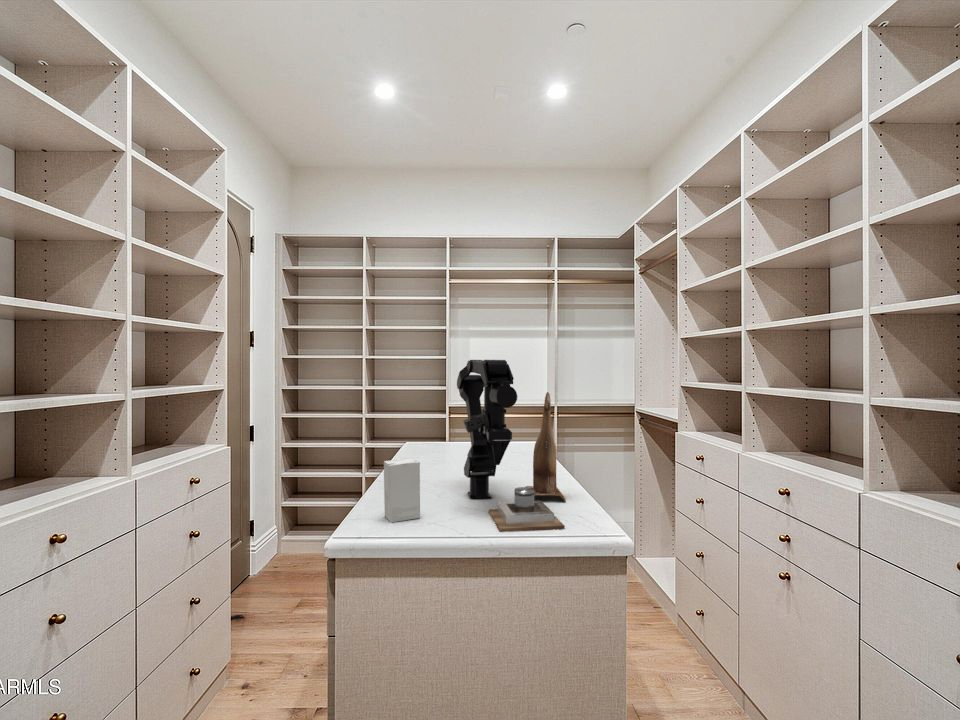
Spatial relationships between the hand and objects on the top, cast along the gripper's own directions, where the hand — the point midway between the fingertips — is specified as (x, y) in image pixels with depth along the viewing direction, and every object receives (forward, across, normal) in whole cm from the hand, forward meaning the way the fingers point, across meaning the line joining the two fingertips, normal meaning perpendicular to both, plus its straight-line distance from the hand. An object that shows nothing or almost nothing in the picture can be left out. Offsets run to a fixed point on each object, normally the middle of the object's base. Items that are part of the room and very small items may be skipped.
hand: (494, 461), depth 137 cm
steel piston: (+12, +11, +6) cm, 17 cm away
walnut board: (+13, +11, +6) cm, 18 cm away
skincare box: (+13, +5, -25) cm, 29 cm away
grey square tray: (+13, +11, +6) cm, 18 cm away
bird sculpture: (+13, -10, +17) cm, 24 cm away
